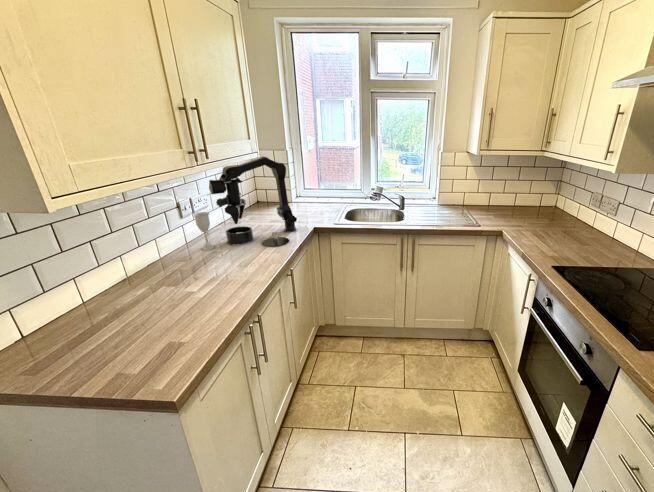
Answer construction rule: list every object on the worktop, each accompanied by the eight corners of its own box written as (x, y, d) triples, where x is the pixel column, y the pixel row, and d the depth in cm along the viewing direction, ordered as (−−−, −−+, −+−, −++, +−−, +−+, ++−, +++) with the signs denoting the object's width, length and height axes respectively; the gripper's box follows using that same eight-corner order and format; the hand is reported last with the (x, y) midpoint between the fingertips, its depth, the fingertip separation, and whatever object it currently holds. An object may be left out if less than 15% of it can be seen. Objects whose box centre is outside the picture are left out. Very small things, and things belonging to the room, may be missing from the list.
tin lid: (264, 239, 174) (263, 229, 171) (290, 238, 176) (289, 227, 174) (260, 248, 161) (259, 237, 159) (288, 247, 164) (286, 236, 162)
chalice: (209, 251, 157) (201, 216, 150) (197, 250, 158) (189, 215, 151) (219, 246, 164) (212, 212, 157) (207, 244, 165) (200, 211, 158)
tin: (231, 237, 175) (229, 226, 173) (255, 236, 178) (253, 225, 175) (225, 246, 164) (223, 234, 161) (251, 244, 166) (249, 233, 164)
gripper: (221, 188, 167) (226, 216, 173) (210, 196, 150) (216, 227, 156) (243, 188, 169) (248, 216, 175) (235, 195, 152) (240, 226, 158)
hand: (238, 221), depth 166 cm, fingers open, 9 cm apart
